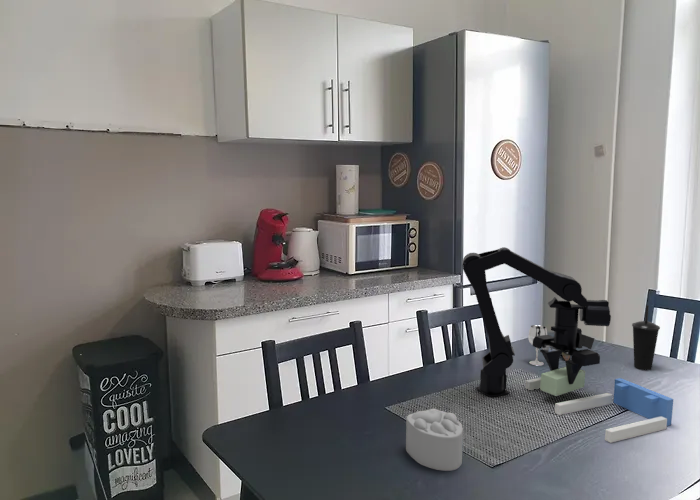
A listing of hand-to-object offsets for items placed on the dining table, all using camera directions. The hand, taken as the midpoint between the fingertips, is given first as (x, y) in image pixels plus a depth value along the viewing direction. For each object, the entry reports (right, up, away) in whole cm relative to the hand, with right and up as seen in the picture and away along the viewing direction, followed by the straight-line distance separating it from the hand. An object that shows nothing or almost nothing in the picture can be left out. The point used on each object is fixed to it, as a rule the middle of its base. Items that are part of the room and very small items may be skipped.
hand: (562, 380), depth 146 cm
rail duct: (+4, -6, -6) cm, 9 cm away
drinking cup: (+35, -2, +24) cm, 42 cm away
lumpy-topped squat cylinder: (-39, -9, -30) cm, 50 cm away
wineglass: (+3, -1, +28) cm, 28 cm away
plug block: (0, -2, 0) cm, 2 cm away
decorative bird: (+15, 0, +38) cm, 40 cm away
